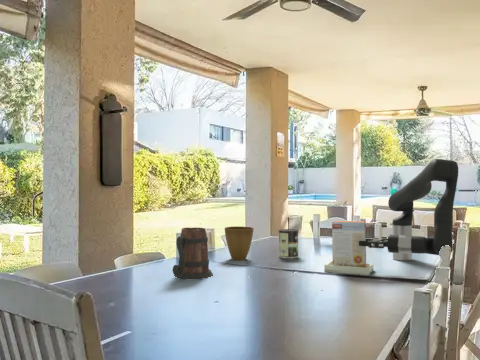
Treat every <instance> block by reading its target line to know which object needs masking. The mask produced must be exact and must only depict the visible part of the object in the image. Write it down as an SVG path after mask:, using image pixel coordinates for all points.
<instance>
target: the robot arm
mask: <svg viewBox="0 0 480 360" xmlns="http://www.w3.org/2000/svg"><path fill="white" fill-rule="evenodd" d="M458 179H459V165H458V163H457V162H456V160H450V159H444V158H443V159H441V158H433V159H432V160H431V161H430V162H429V163H428V164H427V165H426V166H425V167H424V168H423V169H422V171H420V173H418V174H417V175H416V176H415V177H413V179H411V180H410V181H409V182H408V183H407V184H405V185H404V186H402V187H401V188H400V189H398V190H397V191H395V192H393V193H392V194H391V195H390V196H389V198H388V208H389V209H390V210H391V211H392V212H402V213H401V215H400V216H398V217H395V218H393V219H392V234H388V236H387V237H386V238H385V237H372V238H366V241H359V246H366V247H368V248H369V249H371V248H372V249H384V248H387V252H388V253H392V259H393V260H395V261H405V262H406V261H413V254H427V255H434V256H440V255H439V251H440V249H441V247H442V246H445V245H449V246H450V247H451V253H452V252H453V249H454V245H453V228H454V220H453V219H454V215H453V214H454V202H455V198H456V197H455V196H456V191H457V187H458V186H457V185H458ZM432 182H441V183H442V182H444V183H445V191H444V193H443V195H442V197H440V199H439V200H438V201H437V202H438V203H436V206H435V208H434V211H433V216H434V217H433V225H434V226H433V228H434V232H433V238H432V237H425V236H420V235H419V236H417V235H413V220H414V202H415V201H418V200H420V199H423V198H424V197H425V196H427V195H428V194H429V193H430V192H431V190H432V189H433V188H432V185H433V184H432Z"/></svg>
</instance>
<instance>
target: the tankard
mask: <svg viewBox="0 0 480 360" xmlns="http://www.w3.org/2000/svg"><path fill="white" fill-rule="evenodd" d="M208 241H209V237H208V235H207V229H206V228H204V227H182V228H181V231H180V235H179V236H177V238H176V248H177V251H178V258H179V259H178V264H175V265H173V267H172V273H173V277H174V276H175V277H177V278H176V279H178V278H181V279H180V280H187V279H196V280H203V279H202V278H205V279H209V278H208V277H210V278H212V277H214V276H213V274H214V273H213V272H212V270H211V269H210V267H209V264H210V259H209V252H208V249H209V248H208ZM211 276H212V277H211ZM175 277H174V278H175Z"/></svg>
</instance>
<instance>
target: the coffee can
mask: <svg viewBox="0 0 480 360" xmlns="http://www.w3.org/2000/svg"><path fill="white" fill-rule="evenodd" d="M278 255H279V256H278V257H279V258H281V259H297V258H299V230H298V229H294V228H292V229H291V228H289V229H287V228H285V229H283V228H282V229H278Z"/></svg>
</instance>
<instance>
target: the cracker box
mask: <svg viewBox="0 0 480 360" xmlns="http://www.w3.org/2000/svg"><path fill="white" fill-rule="evenodd" d="M331 222H332V223H331V228H332V229H331V231H332V232H331V234H332V235H331V236H332V238H331V239H332V241H331V243H332V246H331V247H332V253H331V254H332V261H333V265H339V266H353V267H366V263H367V246H359V241H366V239H367V235H366V234H367V233H366V232H367V230H366V229H367V228H366V220H365V221H364V220H363V221H361V220H358V221H355V220H334V221H331Z"/></svg>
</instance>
